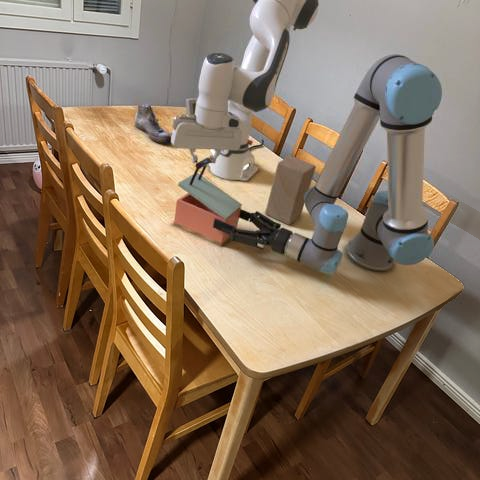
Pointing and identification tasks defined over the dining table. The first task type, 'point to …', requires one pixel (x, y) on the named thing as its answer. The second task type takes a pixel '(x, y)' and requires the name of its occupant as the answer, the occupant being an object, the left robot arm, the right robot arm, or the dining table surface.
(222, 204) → the lid
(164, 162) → the dining table surface
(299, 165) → the wooden block
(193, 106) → the digital clock
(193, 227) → the chest
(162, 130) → the shoe
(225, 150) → the left robot arm
